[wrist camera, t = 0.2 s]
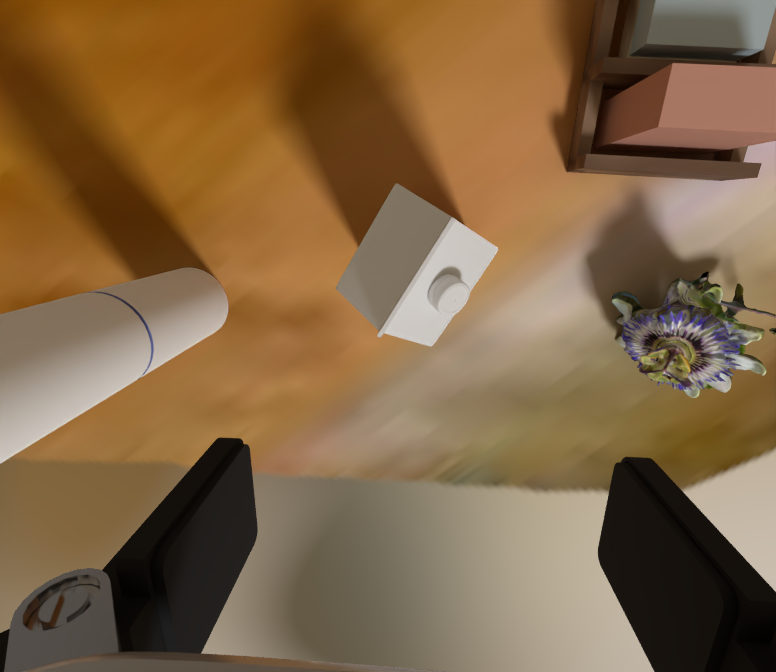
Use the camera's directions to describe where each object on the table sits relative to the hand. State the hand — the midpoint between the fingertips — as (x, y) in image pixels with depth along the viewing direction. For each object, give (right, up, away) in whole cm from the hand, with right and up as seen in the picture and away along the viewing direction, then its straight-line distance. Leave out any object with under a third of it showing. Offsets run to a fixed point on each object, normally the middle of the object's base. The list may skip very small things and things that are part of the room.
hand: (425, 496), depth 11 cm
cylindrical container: (-21, +8, +32) cm, 39 cm away
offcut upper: (+22, +28, +20) cm, 41 cm away
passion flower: (+25, +6, +29) cm, 39 cm away
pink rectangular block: (+21, +22, +24) cm, 39 cm away
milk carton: (+2, +13, +29) cm, 31 cm away
